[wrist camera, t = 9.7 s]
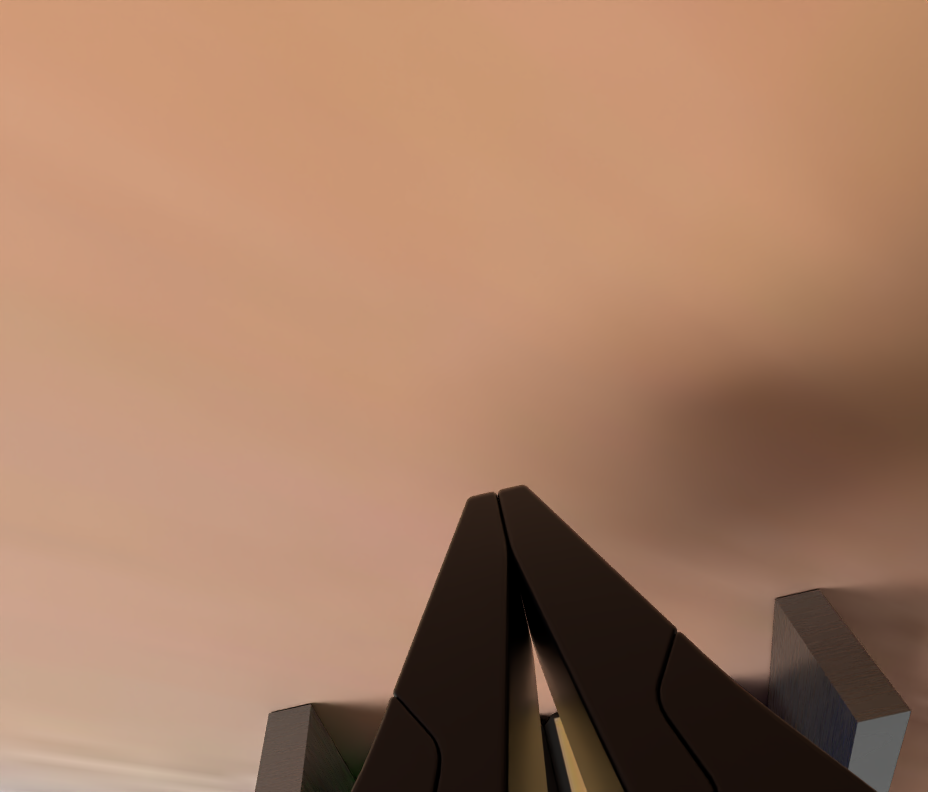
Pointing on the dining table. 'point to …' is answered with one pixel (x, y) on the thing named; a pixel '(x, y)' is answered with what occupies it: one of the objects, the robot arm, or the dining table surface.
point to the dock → (790, 697)
